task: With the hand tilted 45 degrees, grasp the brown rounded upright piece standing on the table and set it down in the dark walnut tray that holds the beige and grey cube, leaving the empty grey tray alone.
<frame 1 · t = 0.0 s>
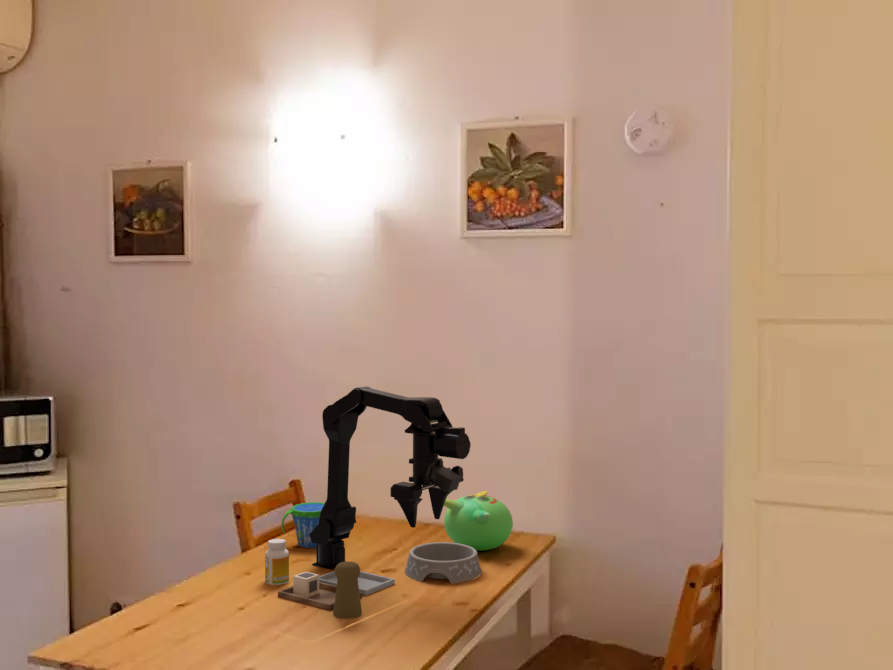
hand: (425, 523, 217), 15 cm above the table, tool pointing down, fingers open, 9 cm apart
walnut tray: (319, 598, 209), on the table
snack cup: (312, 545, 252), on the table
grey tray: (354, 585, 219), on the table
supplement bottle: (277, 583, 220), on the table
dog bowl: (443, 574, 229), on the table
green creature toy: (476, 550, 249), on the table
brown rounded upright piece: (347, 616, 199), on the table
beige and grey cube: (306, 593, 212), resting on walnut tray
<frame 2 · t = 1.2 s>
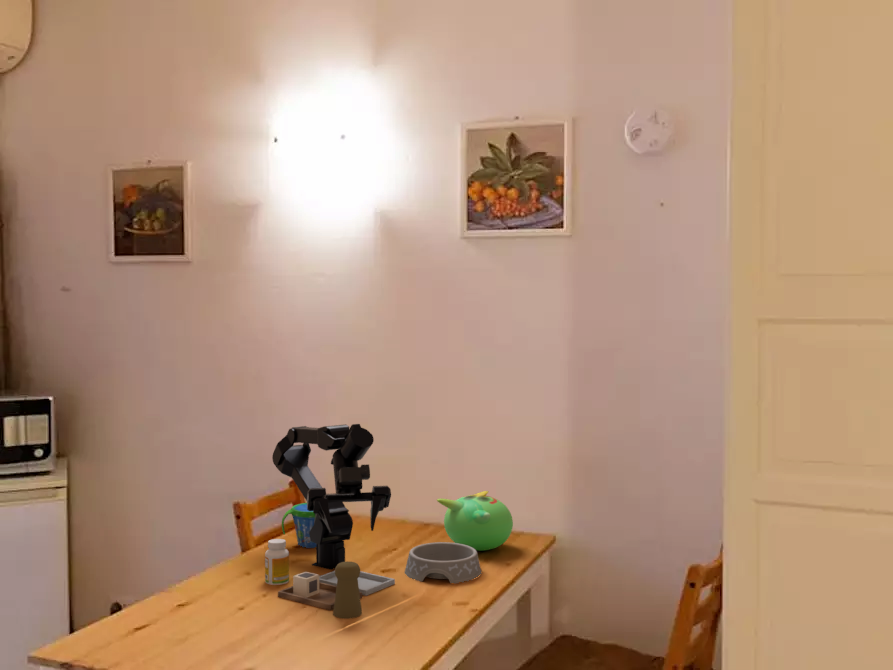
hand: (352, 530, 215), 13 cm above the table, tool tilted 45°, fingers open, 9 cm apart
nothing on the table moved.
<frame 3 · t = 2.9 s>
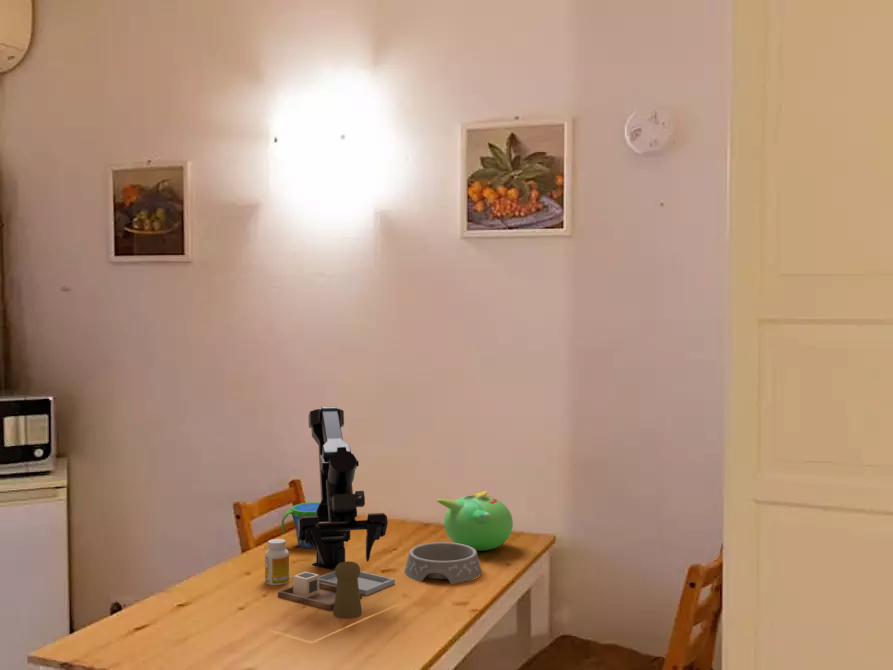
hand: (345, 561, 202), 10 cm above the table, tool tilted 45°, fingers open, 9 cm apart
nothing on the table moved.
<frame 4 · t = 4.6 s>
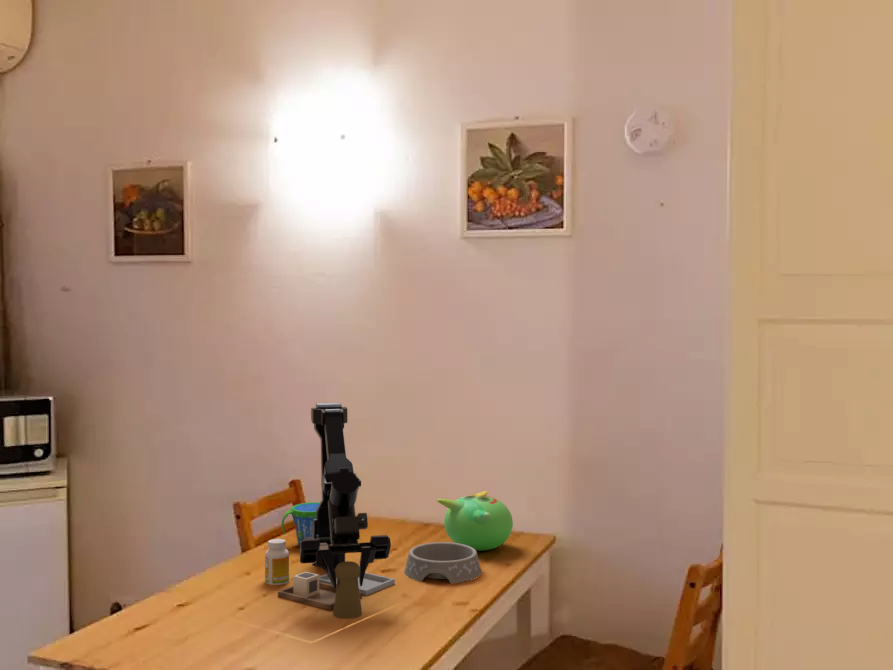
hand: (348, 585, 198), 7 cm above the table, tool tilted 45°, fingers closed on brown rounded upright piece, 5 cm apart
brown rounded upright piece: (347, 616, 199), on the table, touching gripper
everything else where it was.
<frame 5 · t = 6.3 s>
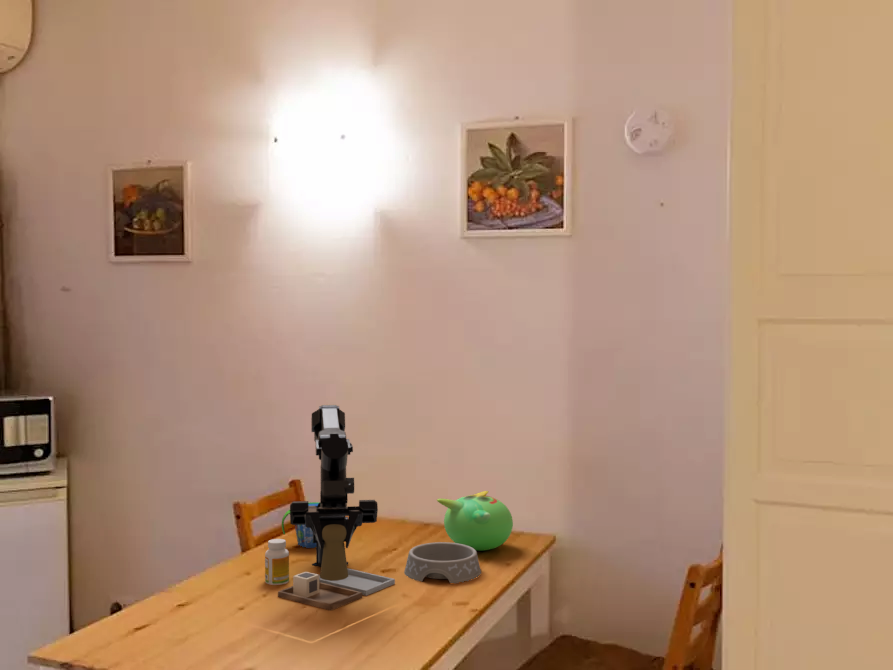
hand: (334, 547, 204), 13 cm above the table, tool tilted 45°, fingers closed on brown rounded upright piece, 5 cm apart
brown rounded upright piece: (334, 576, 206), point 6 cm above the table, touching gripper
everything else where it was.
when the fingers open (8 cm above the table, at t = 8.1 s): brown rounded upright piece drops 1 cm, resting on walnut tray.
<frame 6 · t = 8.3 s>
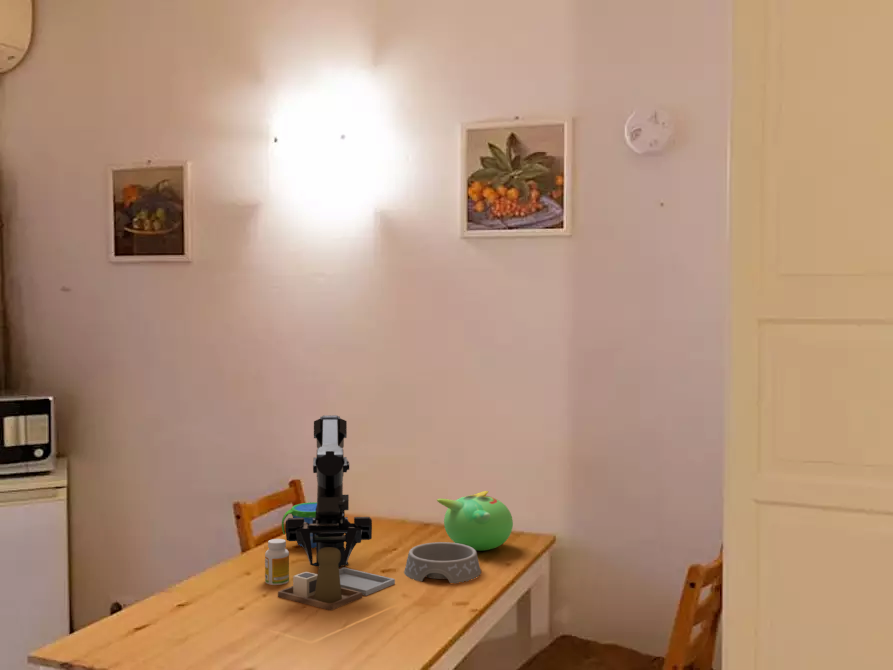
hand: (328, 563, 206), 9 cm above the table, tool tilted 45°, fingers open, 7 cm apart
brown rounded upright piece: (328, 599, 208), resting on walnut tray
everything else where it was.
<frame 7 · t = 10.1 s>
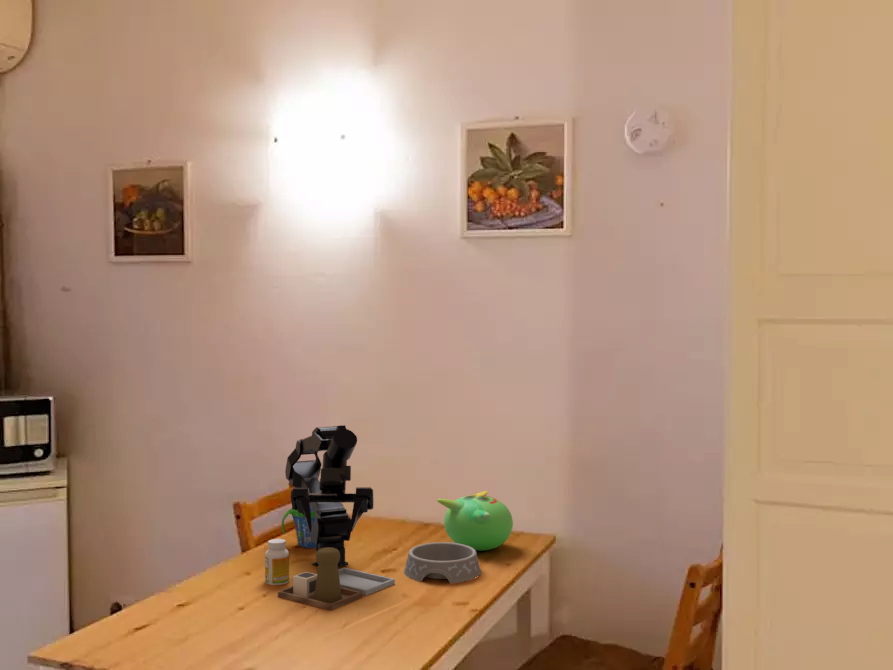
hand: (330, 531, 217), 13 cm above the table, tool tilted 45°, fingers open, 9 cm apart
nothing on the table moved.
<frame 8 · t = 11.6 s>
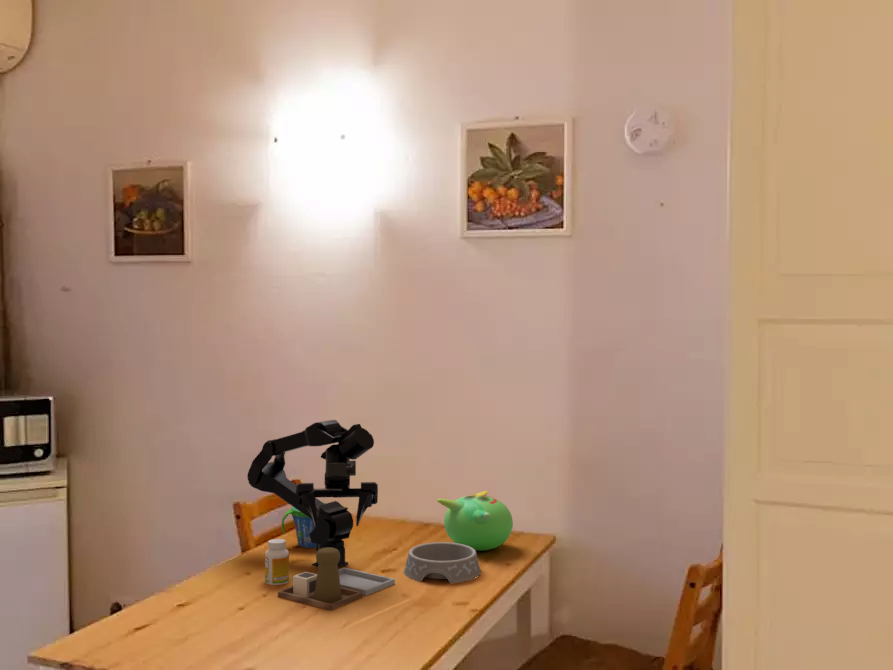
hand: (336, 525, 219), 14 cm above the table, tool tilted 45°, fingers open, 9 cm apart
nothing on the table moved.
at the end: brown rounded upright piece inside the target area on the walnut tray (2.0 cm from its centre), point 0.2 cm above the walnut tray's base; brown rounded upright piece tilted 0°; the gripper is holding nothing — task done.
